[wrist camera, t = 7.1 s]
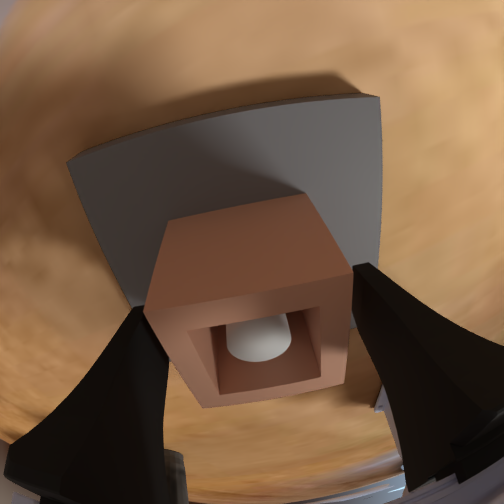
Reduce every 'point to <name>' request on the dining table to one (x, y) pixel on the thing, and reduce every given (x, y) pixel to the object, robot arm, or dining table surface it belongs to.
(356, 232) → the post board
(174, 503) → the beverage cup
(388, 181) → the dining table surface
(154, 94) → the dining table surface
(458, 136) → the dining table surface
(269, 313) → the collar
